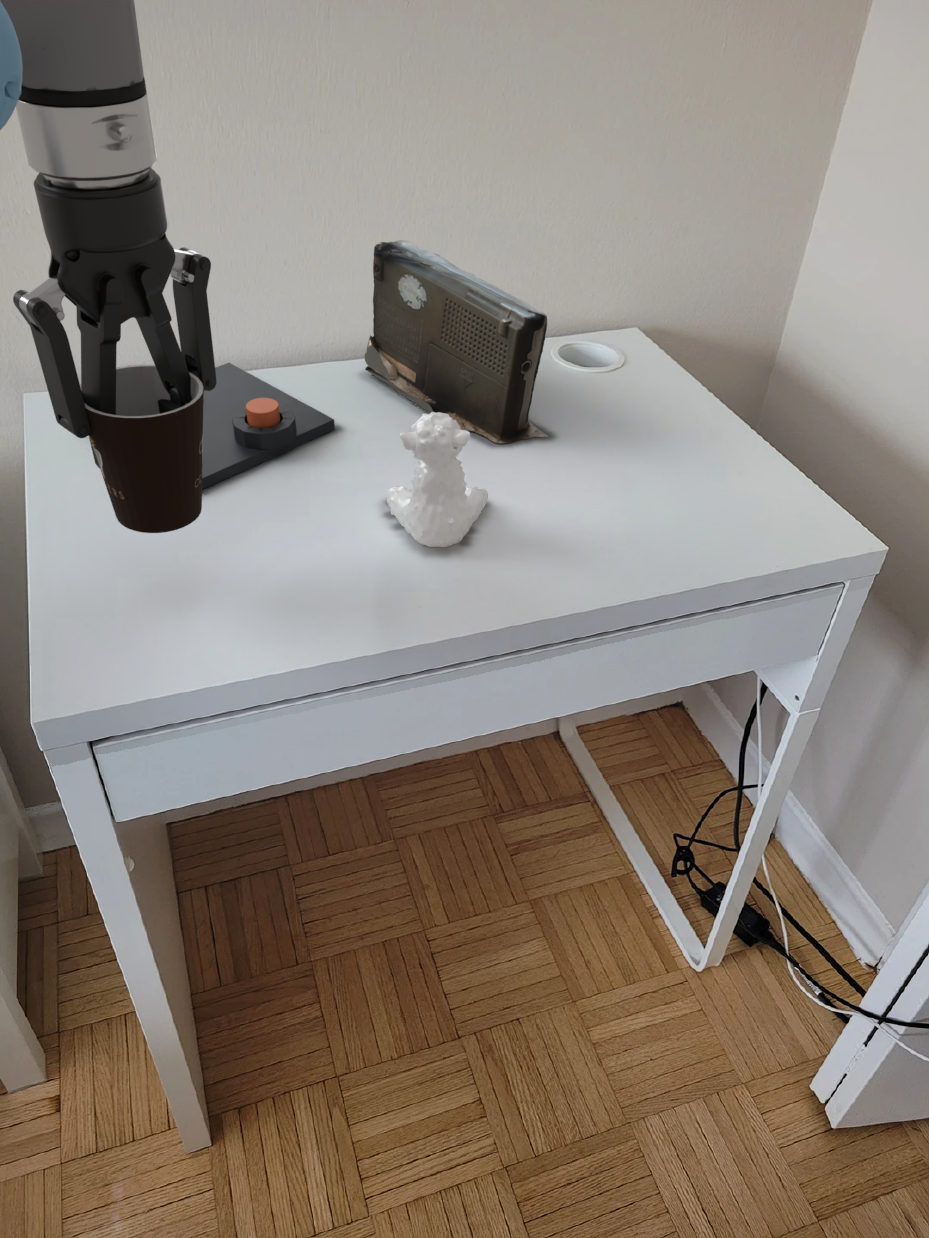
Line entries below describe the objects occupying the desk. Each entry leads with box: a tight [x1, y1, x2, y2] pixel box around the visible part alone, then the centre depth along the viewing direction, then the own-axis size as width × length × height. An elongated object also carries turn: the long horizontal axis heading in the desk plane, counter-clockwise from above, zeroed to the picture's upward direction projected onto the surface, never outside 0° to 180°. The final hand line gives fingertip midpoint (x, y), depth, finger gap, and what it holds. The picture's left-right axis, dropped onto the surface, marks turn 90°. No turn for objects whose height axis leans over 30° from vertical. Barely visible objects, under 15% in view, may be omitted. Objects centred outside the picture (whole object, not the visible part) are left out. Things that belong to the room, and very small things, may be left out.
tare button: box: [246, 398, 280, 428], centre depth 94 cm, size 3×3×2 cm
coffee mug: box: [80, 364, 204, 534], centre depth 71 cm, size 12×9×10 cm
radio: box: [364, 239, 549, 444], centre depth 100 cm, size 23×9×15 cm, turn 37°
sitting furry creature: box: [386, 412, 489, 548], centre depth 83 cm, size 10×9×12 cm
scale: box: [202, 362, 336, 491], centre depth 98 cm, size 18×19×3 cm
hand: (157, 491), depth 74 cm, fingers open, 4 cm apart
